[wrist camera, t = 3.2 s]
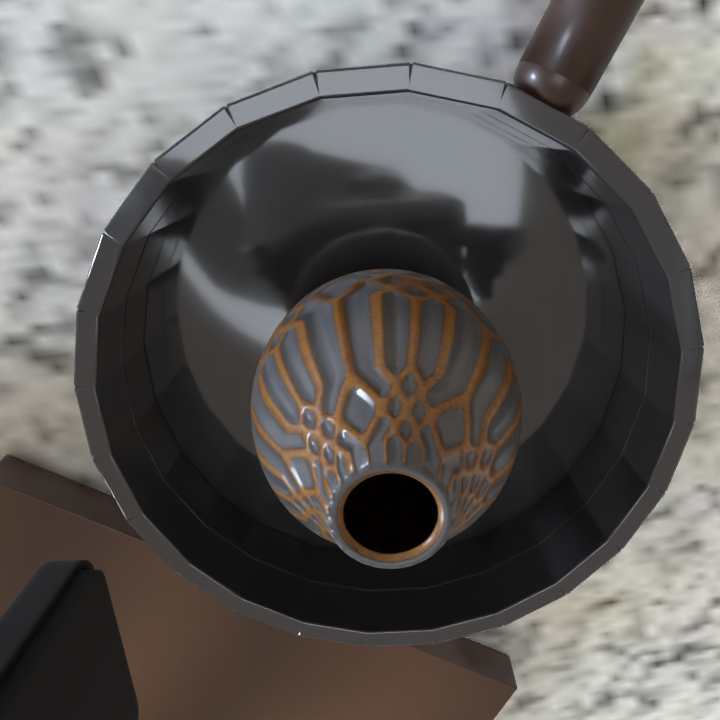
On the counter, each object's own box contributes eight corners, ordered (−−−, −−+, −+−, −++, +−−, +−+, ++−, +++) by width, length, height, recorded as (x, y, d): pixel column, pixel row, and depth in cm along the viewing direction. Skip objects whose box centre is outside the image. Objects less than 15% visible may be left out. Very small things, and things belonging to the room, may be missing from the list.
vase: (280, 236, 19) (209, 321, 10) (511, 261, 19) (620, 365, 11) (267, 442, 21) (201, 645, 13) (472, 463, 21) (536, 677, 13)
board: (-64, 672, 25) (-89, 704, 24) (6, 454, 22) (-19, 476, 20) (383, 827, 28) (383, 864, 27) (509, 656, 24) (517, 688, 23)
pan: (67, 454, 22) (3, 523, 18) (243, -35, 17) (206, -83, 13) (478, 622, 24) (498, 714, 20) (747, 236, 19) (841, 263, 15)
